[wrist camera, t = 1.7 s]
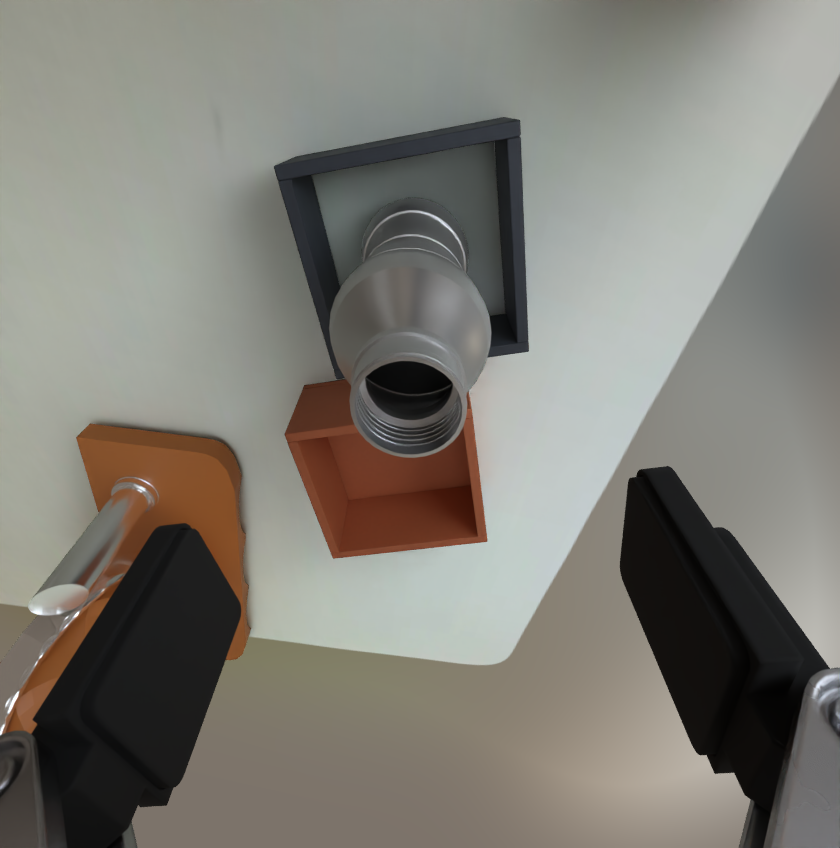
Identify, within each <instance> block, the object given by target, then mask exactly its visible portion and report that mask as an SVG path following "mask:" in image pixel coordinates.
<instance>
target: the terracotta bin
mask: <svg viewBox="0 0 840 848" xmlns="http://www.w3.org/2000/svg"><path fill="white" fill-rule="evenodd" d="M350 392H351V385H350V384H349V382H348V381H347V380H346V379H345V380H338V381H331V382H324V383H317V384H310V385H304V388H303V390H302V393H301V395H300V398H299V400H298V403H297V405H296V407H295V410H294V412H293V415H292V417H291V420H290V422H289V425H288V427H287V429H286V432H285V437H286V440H287V442H288V445H289V448H290V450H291V453H292V455H293V458H294V460H295V463H296V465H297V468H298V471H299V473H300V476H301V478H302V481H303V483H304V486H305V488H306V491H307V493H308V496H309V498H310V501H311V504H312V506H313V509H314V511H315V514H316V516H317V519H318V521H319V524H320V526H321V529H322V532H323V534H324V537H325V539H326V542H327V544H328V547H329V549H330V552H331V554H332V557H333V558H343V557H352V556H361V555H370V554H380V553H389V552H398V551H407V550H416V549H425V548H434V547H443V546H452V545H461V544H471V543H480V542H487V533H486V525H485V517H484V508H483V500H482V492H481V483H480V475H479V467H478V458H477V450H476V442H475V433H474V425H473V417H472V409H471V403H470V397H469V391H468V392H467V395H466V399H467V414H466V419H465V423H464V426H463V428H462V430H461V432H460V434H459V435H458V436H457V437H456V439H455V440H454V441H453V442H452V443H451V444H450V445H448V446H447V447H446V448H444V449H442V450H441V451H439V452H437V453H434V454H431V455H428V456H424V457H416V458H406V457H399V456H394V455H391V454H388V453H385V452H383V451H381V450H379V449H377V448H375V447H374V446H373V445H371V444H370V443H369V442H368V441H366V440H365V439H364V437H363V436H362V435H361V434H360V433H359V431H358V430H357V428H356V426H355V424H354V422H353V419H352V416H351V411H350V401H349V400H350Z"/></svg>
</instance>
